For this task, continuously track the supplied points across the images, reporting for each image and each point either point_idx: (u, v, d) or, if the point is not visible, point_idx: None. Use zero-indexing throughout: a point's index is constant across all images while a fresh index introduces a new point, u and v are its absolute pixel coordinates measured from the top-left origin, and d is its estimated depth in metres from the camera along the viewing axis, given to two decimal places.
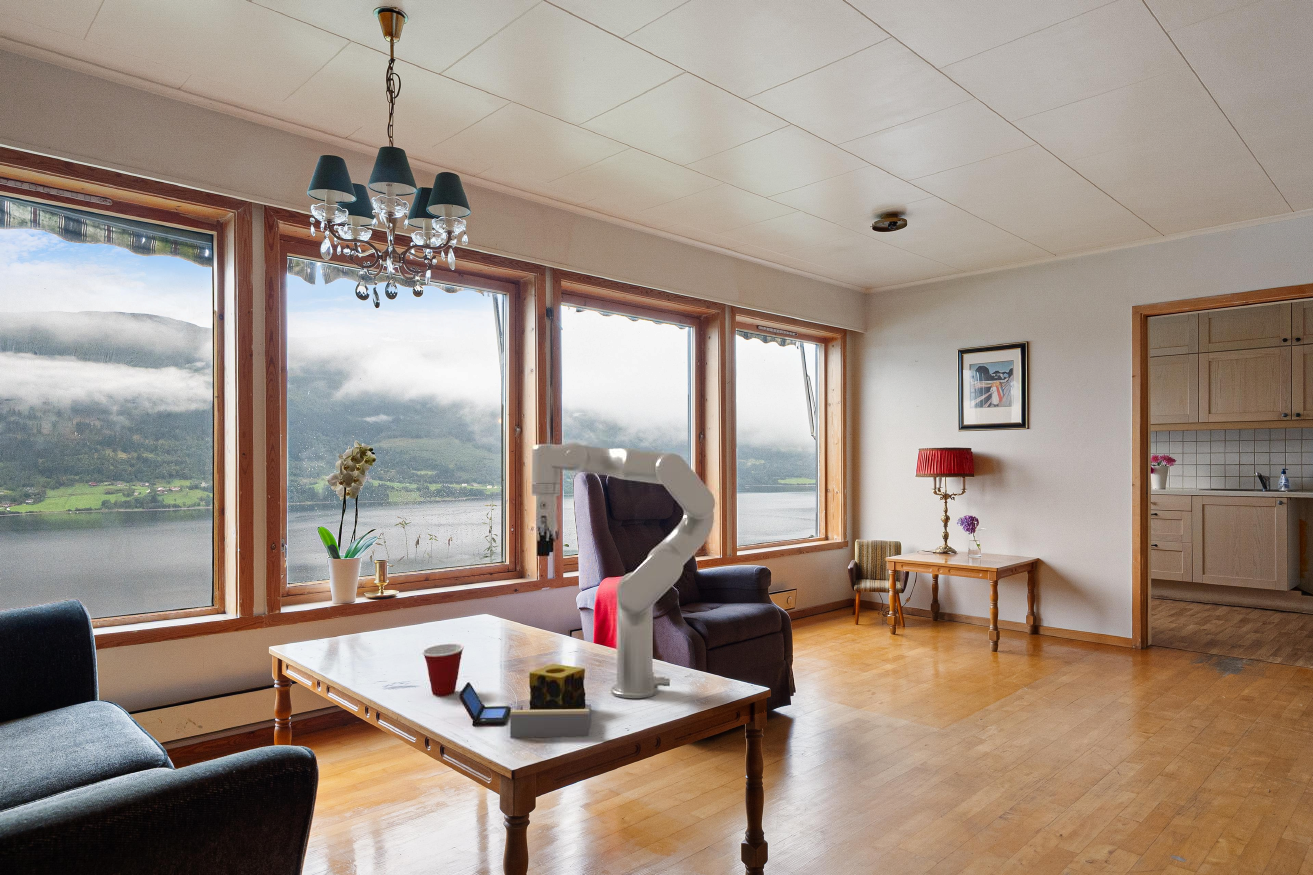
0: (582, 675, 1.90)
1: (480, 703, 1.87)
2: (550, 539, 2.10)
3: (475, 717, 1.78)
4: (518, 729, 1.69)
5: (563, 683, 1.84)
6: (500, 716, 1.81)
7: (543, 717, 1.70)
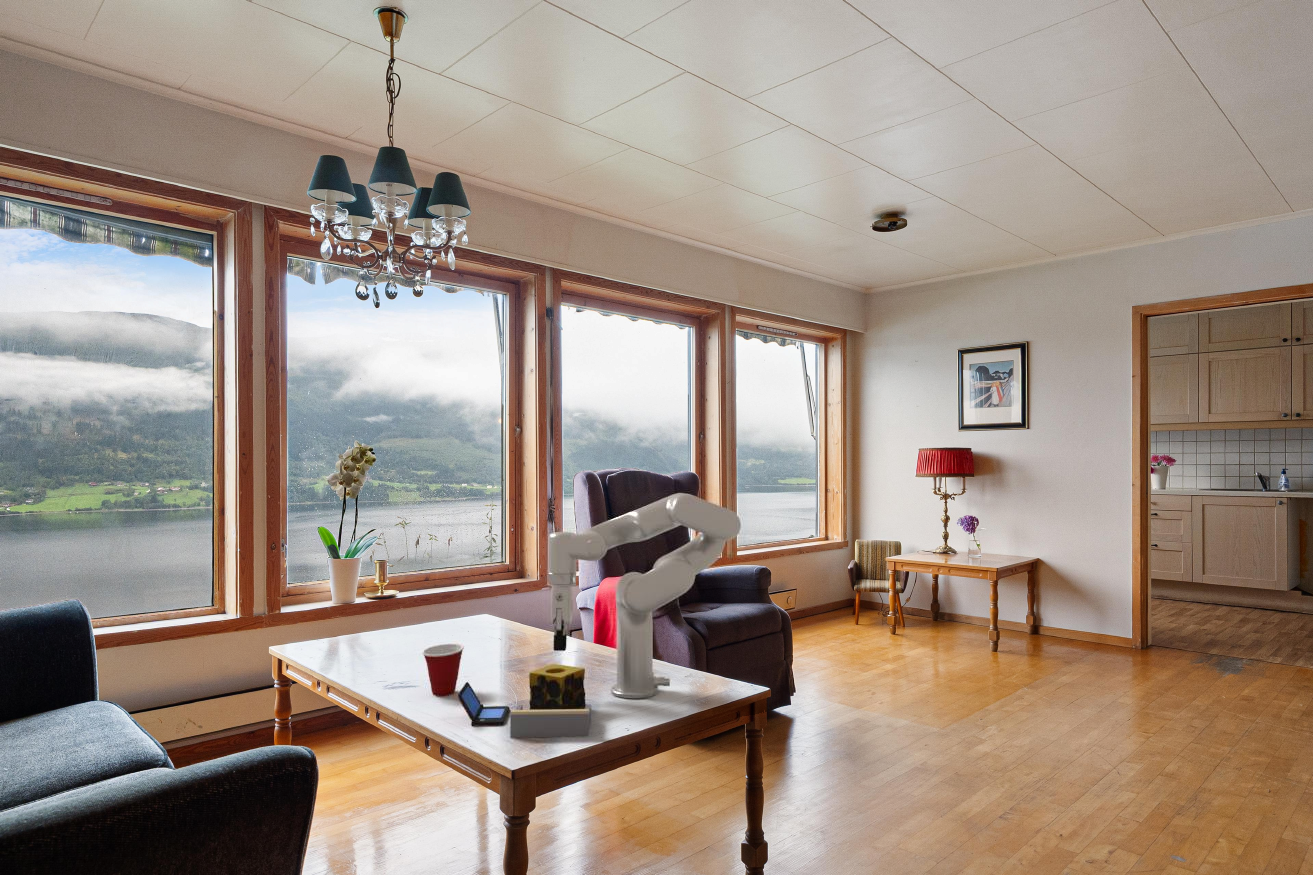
0: (582, 675, 1.90)
1: (478, 703, 1.87)
2: None
3: (474, 717, 1.78)
4: (518, 729, 1.69)
5: (563, 683, 1.84)
6: (498, 716, 1.81)
7: (543, 717, 1.70)
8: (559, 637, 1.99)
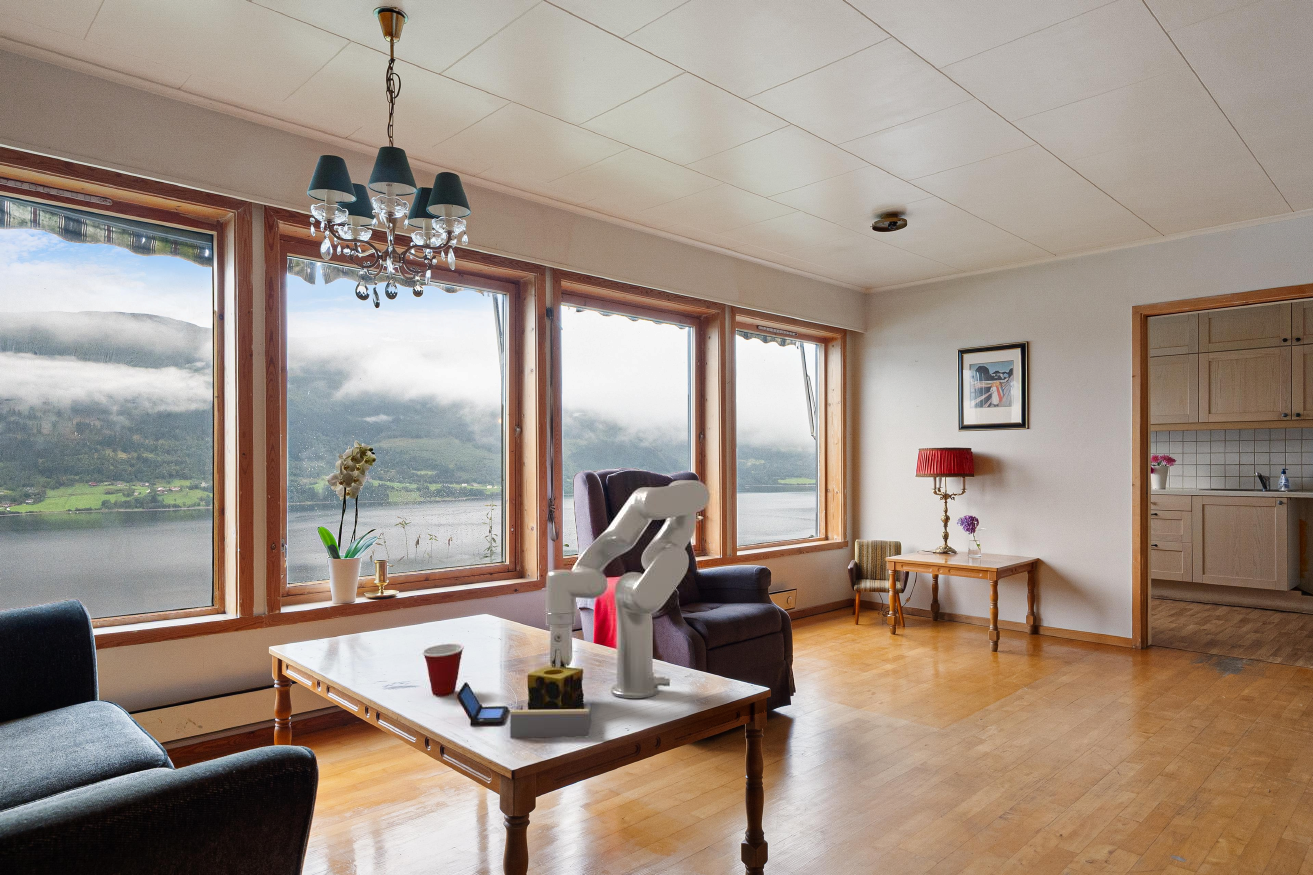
0: (580, 675, 1.89)
1: (477, 704, 1.87)
2: None
3: (473, 717, 1.78)
4: (518, 729, 1.69)
5: (563, 684, 1.82)
6: (497, 716, 1.81)
7: (543, 717, 1.70)
8: None
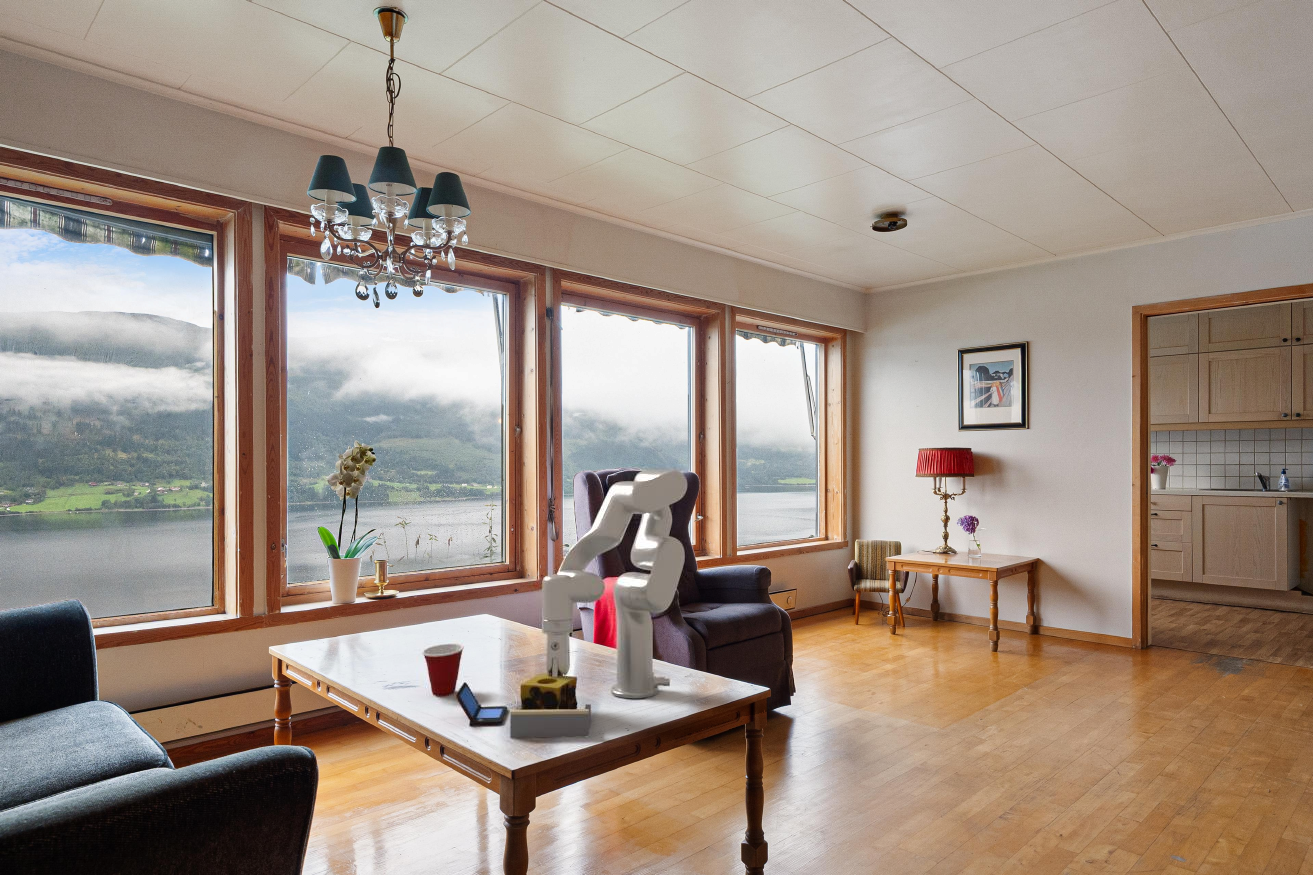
0: (574, 684, 1.81)
1: (476, 704, 1.87)
2: None
3: (472, 717, 1.78)
4: (518, 729, 1.69)
5: (560, 693, 1.74)
6: (497, 716, 1.81)
7: (543, 717, 1.70)
8: None
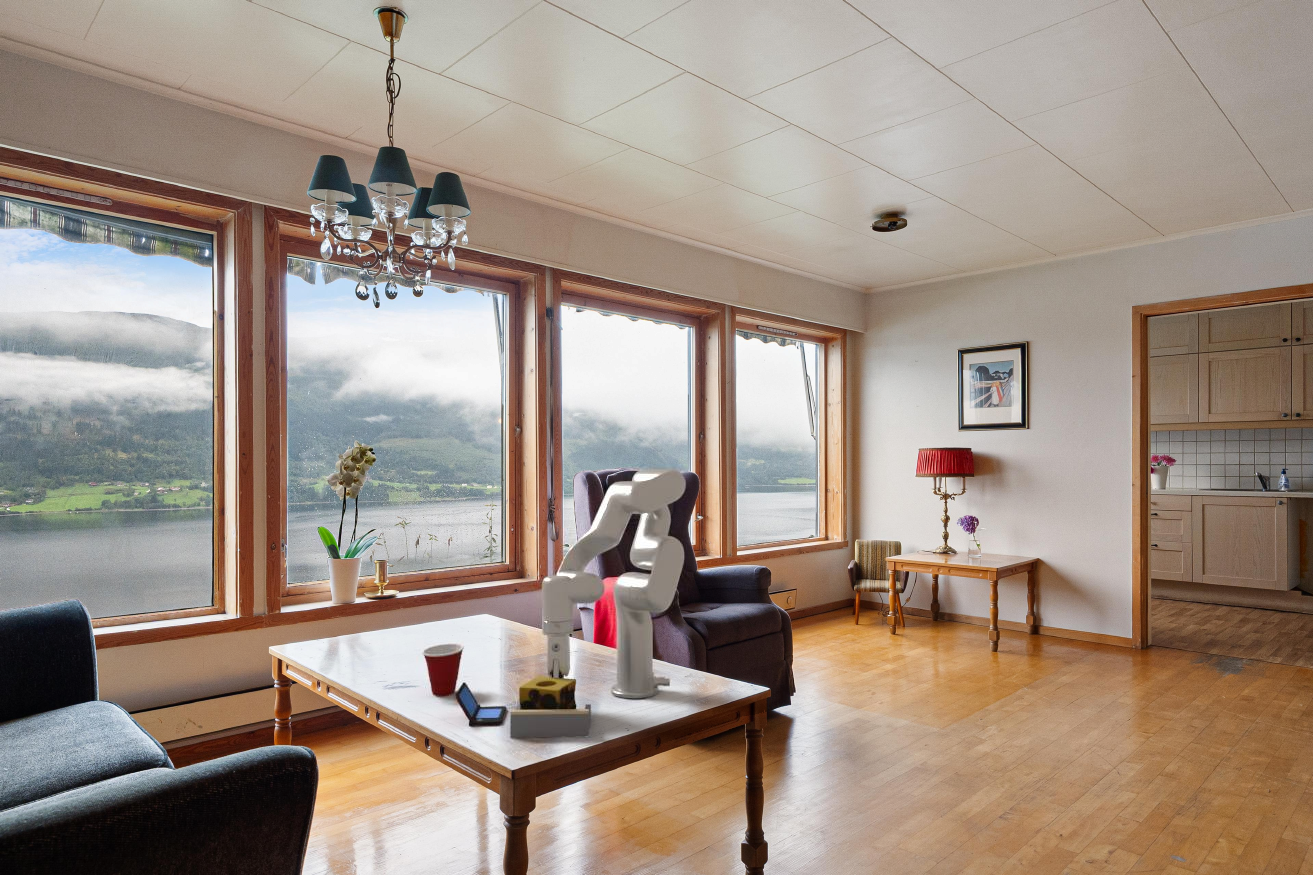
0: (573, 686, 1.80)
1: (475, 704, 1.87)
2: None
3: (471, 717, 1.78)
4: (518, 729, 1.69)
5: (559, 696, 1.73)
6: (496, 716, 1.81)
7: (543, 717, 1.70)
8: None
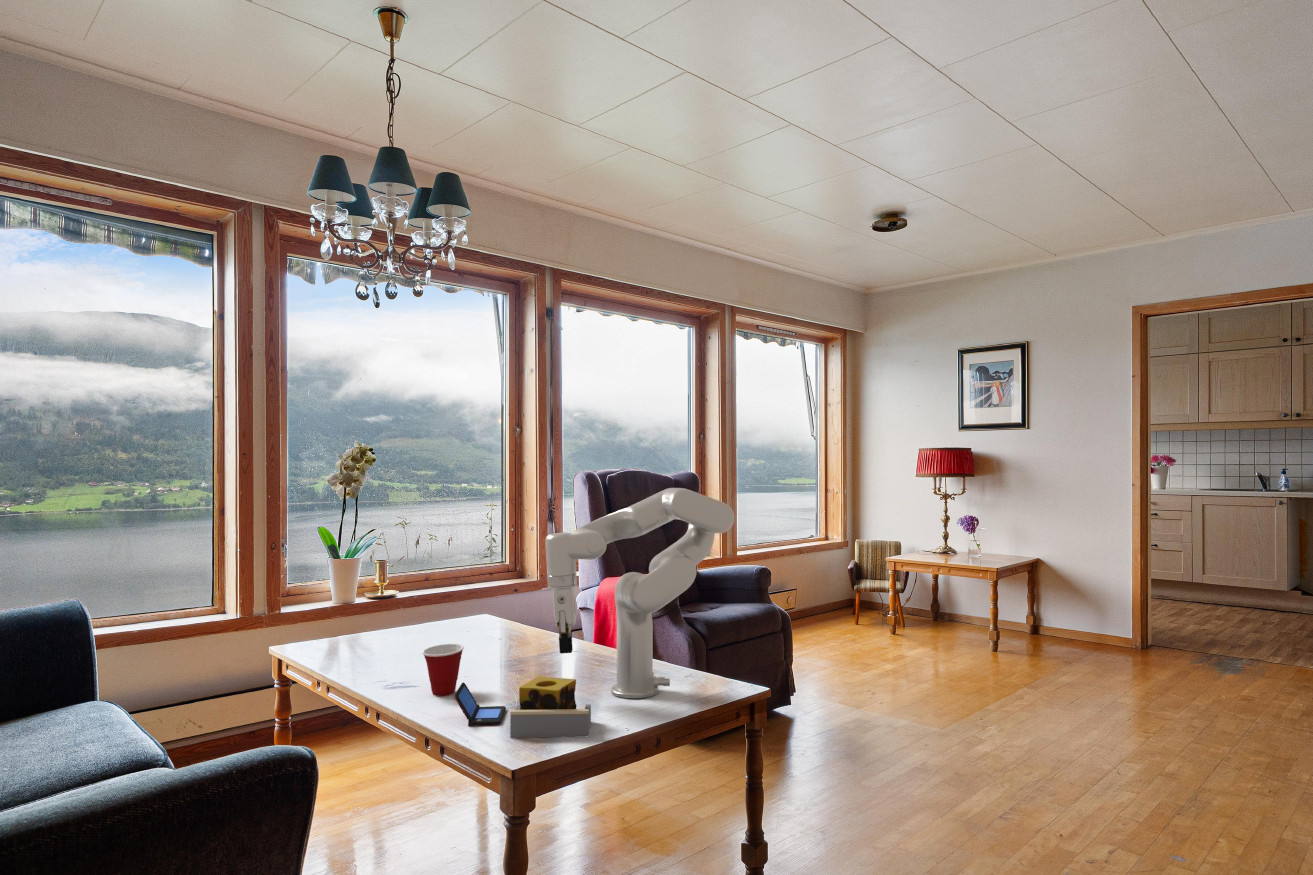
0: (573, 686, 1.80)
1: (475, 704, 1.87)
2: None
3: (471, 717, 1.78)
4: (518, 729, 1.69)
5: (559, 696, 1.73)
6: (495, 716, 1.81)
7: (543, 717, 1.70)
8: (564, 639, 1.96)
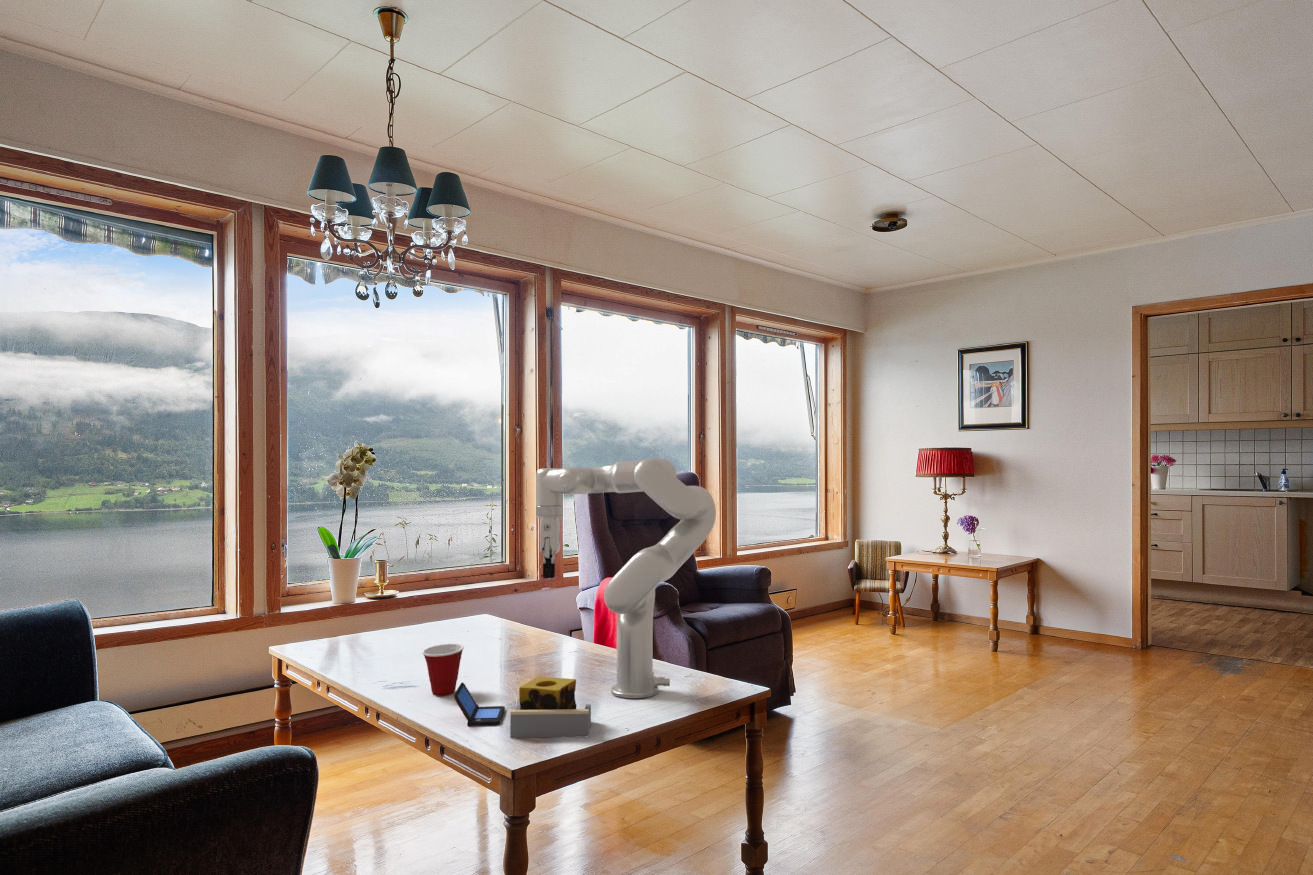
0: (573, 686, 1.80)
1: (474, 704, 1.87)
2: None
3: (470, 717, 1.78)
4: (518, 729, 1.69)
5: (559, 696, 1.73)
6: (494, 716, 1.81)
7: (543, 717, 1.70)
8: (548, 565, 2.13)
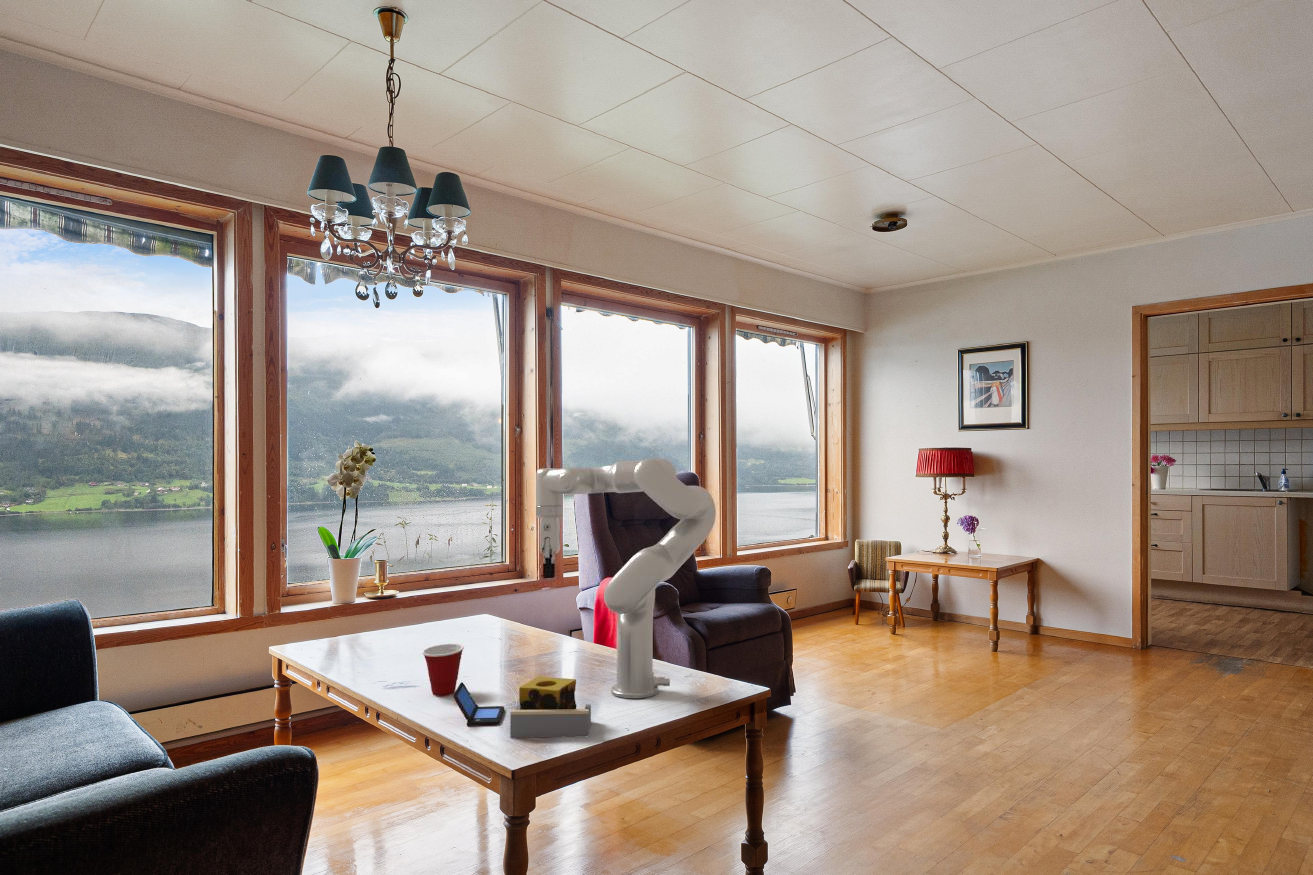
0: (573, 686, 1.80)
1: (473, 704, 1.87)
2: None
3: (469, 717, 1.78)
4: (518, 729, 1.69)
5: (559, 696, 1.73)
6: (494, 716, 1.81)
7: (543, 717, 1.70)
8: (548, 565, 2.13)
